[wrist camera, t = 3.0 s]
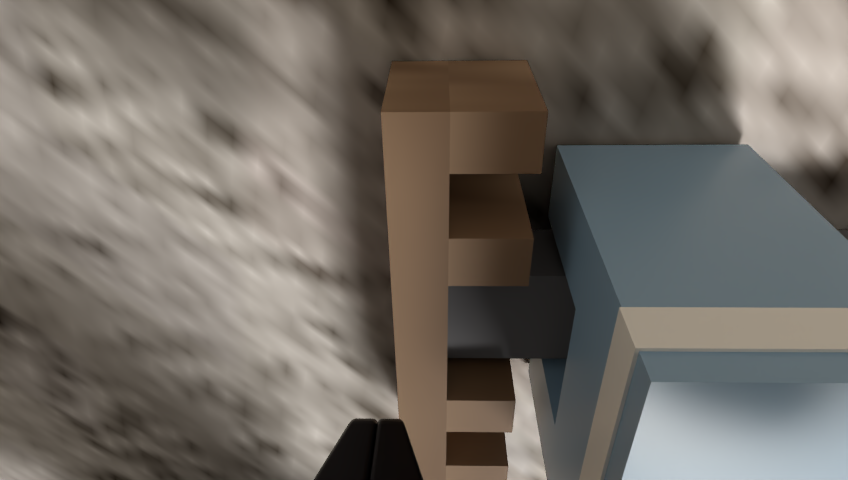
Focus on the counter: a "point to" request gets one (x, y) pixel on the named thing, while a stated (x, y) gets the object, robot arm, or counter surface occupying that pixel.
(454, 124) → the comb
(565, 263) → the sleeve
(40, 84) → the counter surface
